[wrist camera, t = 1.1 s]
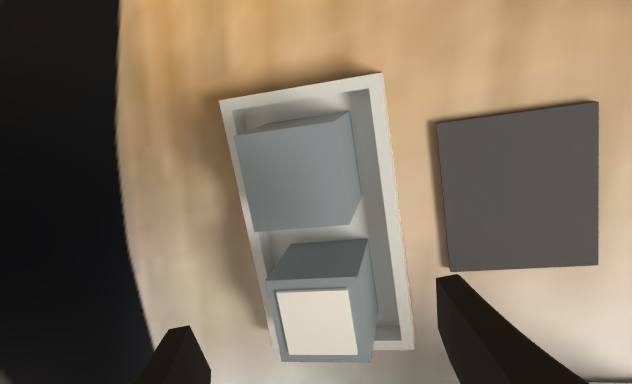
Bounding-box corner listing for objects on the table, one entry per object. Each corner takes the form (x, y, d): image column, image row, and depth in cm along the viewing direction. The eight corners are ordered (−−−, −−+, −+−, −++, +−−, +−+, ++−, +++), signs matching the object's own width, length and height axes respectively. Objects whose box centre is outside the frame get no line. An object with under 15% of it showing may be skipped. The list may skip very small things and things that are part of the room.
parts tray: (414, 330, 24) (414, 350, 23) (282, 332, 27) (273, 350, 25) (383, 72, 21) (380, 72, 19) (233, 98, 23) (218, 100, 21)
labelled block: (378, 310, 24) (370, 364, 20) (304, 312, 25) (280, 364, 21) (368, 238, 23) (357, 278, 19) (290, 243, 24) (263, 283, 20)
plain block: (362, 195, 22) (349, 224, 18) (282, 202, 24) (254, 232, 19) (350, 110, 21) (333, 121, 17) (267, 123, 22) (233, 136, 18)
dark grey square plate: (595, 261, 21) (598, 265, 21) (450, 268, 23) (450, 271, 23) (595, 101, 19) (598, 101, 19) (436, 122, 21) (436, 123, 21)
